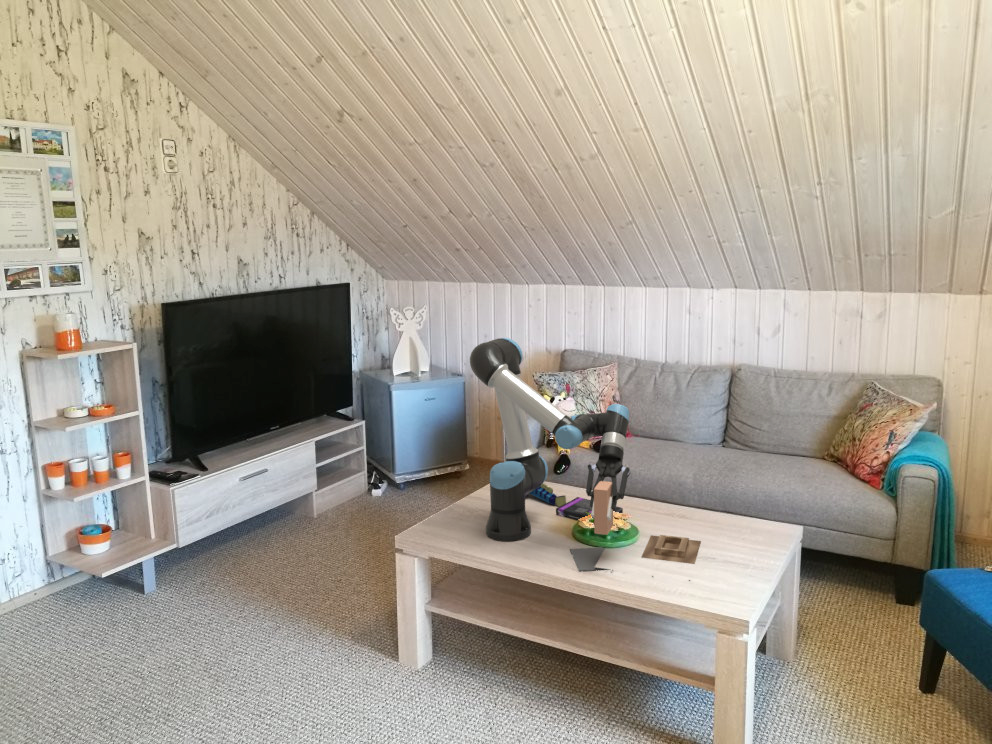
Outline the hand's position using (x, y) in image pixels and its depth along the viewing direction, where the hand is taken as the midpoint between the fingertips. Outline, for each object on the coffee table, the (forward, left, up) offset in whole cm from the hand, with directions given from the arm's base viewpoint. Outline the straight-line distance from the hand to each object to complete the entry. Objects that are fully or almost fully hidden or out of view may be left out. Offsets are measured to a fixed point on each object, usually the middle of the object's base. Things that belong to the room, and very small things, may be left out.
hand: (600, 517), depth 241 cm
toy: (-9, +58, -16) cm, 61 cm away
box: (+5, +41, -16) cm, 44 cm away
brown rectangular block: (+2, +3, -5) cm, 6 cm away
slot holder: (+24, +5, -15) cm, 29 cm away
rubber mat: (+1, +4, -15) cm, 16 cm away
